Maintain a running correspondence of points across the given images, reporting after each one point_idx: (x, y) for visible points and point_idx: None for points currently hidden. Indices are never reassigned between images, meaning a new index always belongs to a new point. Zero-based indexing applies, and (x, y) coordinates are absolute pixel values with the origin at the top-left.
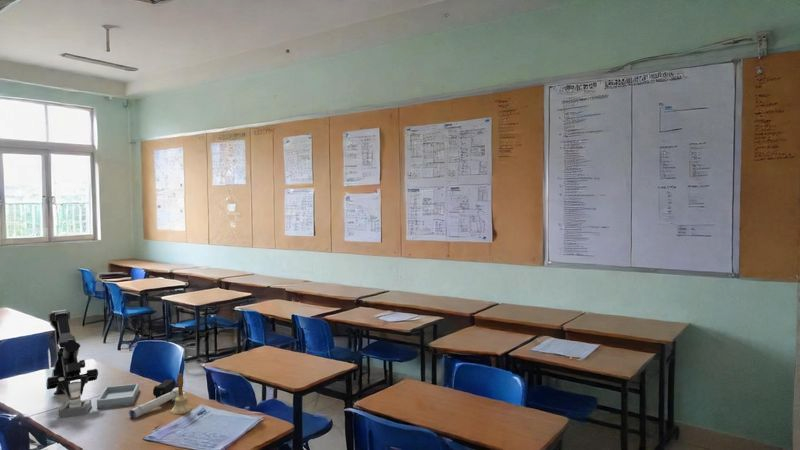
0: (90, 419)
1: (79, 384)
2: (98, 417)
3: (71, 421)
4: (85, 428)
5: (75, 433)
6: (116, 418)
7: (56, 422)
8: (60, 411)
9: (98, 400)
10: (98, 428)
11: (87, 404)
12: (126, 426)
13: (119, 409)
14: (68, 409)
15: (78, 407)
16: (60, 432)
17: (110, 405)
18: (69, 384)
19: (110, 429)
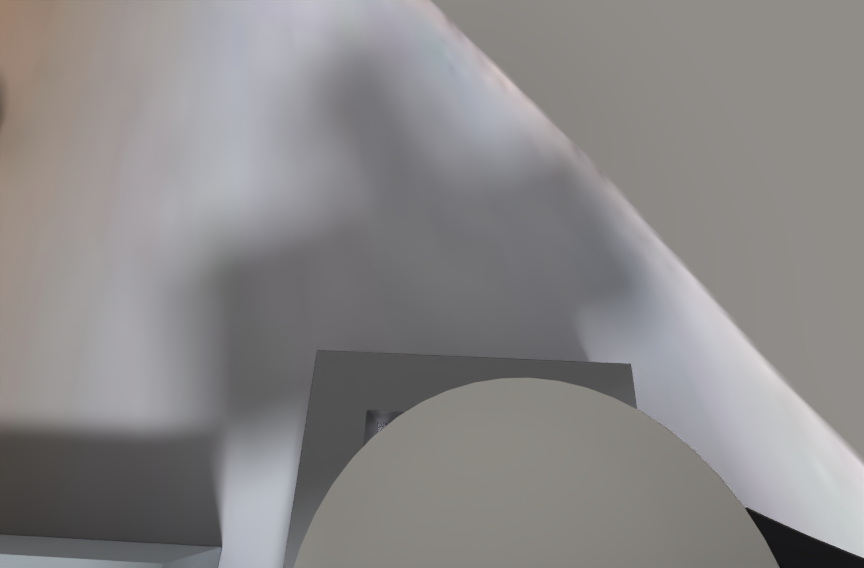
0: (287, 227)
1: (331, 500)
2: (221, 248)
3: (443, 241)
4: (314, 75)
5: (370, 27)
6: (87, 172)
7: (574, 266)
8: (602, 365)
9: (141, 559)
10: (230, 49)
11: (302, 476)
12: (60, 23)
13: (5, 393)
14: (515, 364)
15: (405, 392)
16: (473, 68)
17: (55, 542)
18: (721, 514)
19: (160, 14)
